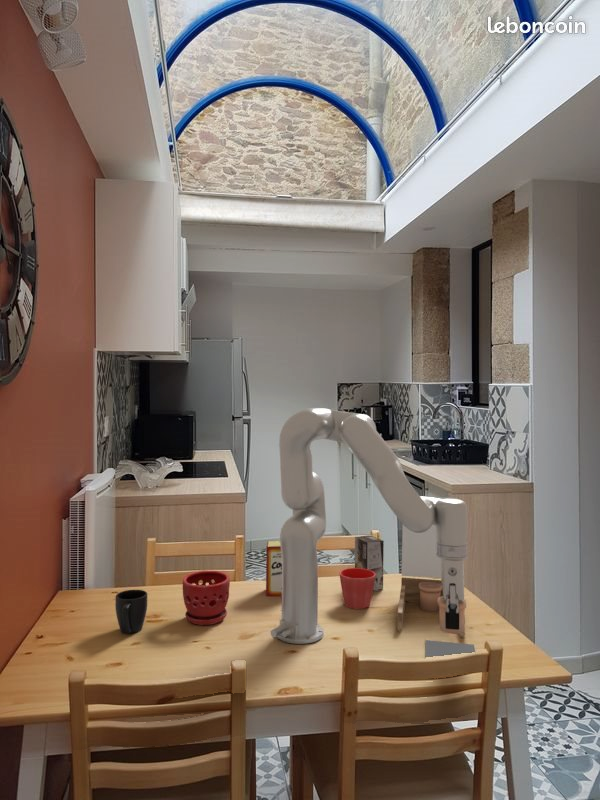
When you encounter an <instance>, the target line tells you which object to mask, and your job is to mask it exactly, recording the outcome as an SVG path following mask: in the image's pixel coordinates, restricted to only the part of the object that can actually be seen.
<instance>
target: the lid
mask: <svg viewBox="0 0 600 800" xmlns="http://www.w3.org/2000/svg"><path fill="white" fill-rule="evenodd" d="M429 497H430V498H436V499H458V500H460V499H459V497H446V496H445V497H442V496H440V497H439V496H429ZM401 537H402V539H401V543H402V544H401V576H402V577H411V578H415V577H416V578H426V579H427V578H428V579H439V580H441V558H439V557H437V556H436V526H435V525H432V526H431V527H430V528H429V529H428V530H427V531H425V532H422V533H416V532H412V531H410V530H409V529H407V528H406V527H405V526H404V525H403V524H402V536H401Z"/></svg>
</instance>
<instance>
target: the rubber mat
mask: <svg viewBox="0 0 600 800" xmlns="http://www.w3.org/2000/svg"><path fill="white" fill-rule="evenodd" d="M424 650H425V652H424V653H425V655H424V656H425V657H433V656H444V655H452V654H461V653H472V652H475V653H476V649H475V644H471V643H461V642H452V641H450V642H449V641H440V640H439V641H438V640H430V639H429V640H428V639H425V649H424ZM425 657H424V658H425Z"/></svg>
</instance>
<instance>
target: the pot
mask: <svg viewBox="0 0 600 800" xmlns="http://www.w3.org/2000/svg"><path fill="white" fill-rule="evenodd" d="M419 590H420V603H419V609H420V610H421V611H422V612H425V613H438V612H439V606H438V598H439V597H440V596H441V591H442V585H440V584H438V583H435V582H421V583H419Z"/></svg>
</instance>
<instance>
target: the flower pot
mask: <svg viewBox="0 0 600 800" xmlns="http://www.w3.org/2000/svg"><path fill="white" fill-rule="evenodd" d="M375 577H376V574H375V573H374V572H373V571H371V570H368V569H362V568H355V567H349V568H345V569H342V570H340V571H339V581H340V585H341V586H340V588H341V592H342V598H343V603H344V605H345V606H346V607H347V608H350V609H353V608H354V610H362V609H363V608H364V609H366V607H367V608H369V607H370V605H371V601H372V597H373V592H374V591H373V588H374V583H375Z"/></svg>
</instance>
